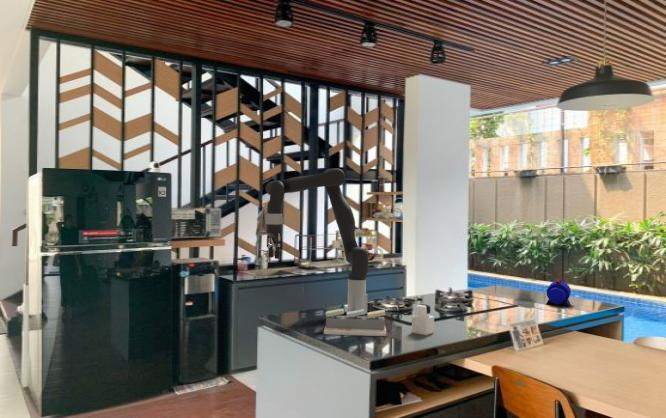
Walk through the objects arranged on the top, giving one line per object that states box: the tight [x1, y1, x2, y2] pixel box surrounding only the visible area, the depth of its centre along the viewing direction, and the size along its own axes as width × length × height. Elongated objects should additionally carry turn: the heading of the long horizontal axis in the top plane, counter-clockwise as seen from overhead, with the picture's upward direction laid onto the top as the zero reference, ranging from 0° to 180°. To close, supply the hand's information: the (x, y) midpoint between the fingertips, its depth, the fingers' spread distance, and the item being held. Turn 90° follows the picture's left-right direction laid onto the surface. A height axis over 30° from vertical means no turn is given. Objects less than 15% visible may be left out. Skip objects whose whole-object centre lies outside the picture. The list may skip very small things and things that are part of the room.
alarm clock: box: [546, 277, 572, 308], centre depth 296 cm, size 12×12×15 cm
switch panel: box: [323, 315, 387, 337], centre depth 221 cm, size 26×13×6 cm, turn 86°
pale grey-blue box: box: [345, 309, 365, 318], centre depth 223 cm, size 8×5×2 cm, turn 87°
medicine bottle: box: [411, 303, 435, 336], centre depth 221 cm, size 7×7×12 cm
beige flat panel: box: [366, 309, 386, 319], centre depth 222 cm, size 8×5×2 cm, turn 87°
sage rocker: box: [325, 308, 345, 318], centre depth 223 cm, size 8×5×2 cm, turn 87°
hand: (273, 257), depth 241 cm, fingers open, 8 cm apart
